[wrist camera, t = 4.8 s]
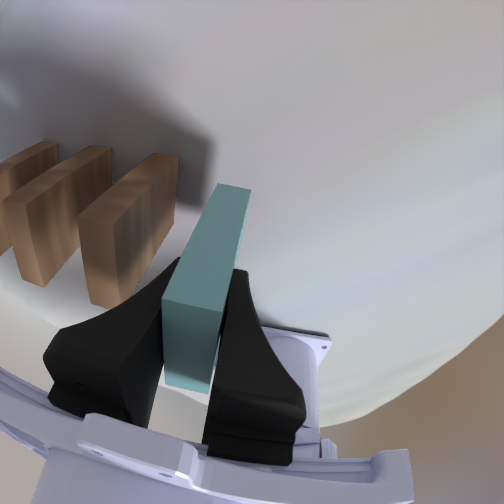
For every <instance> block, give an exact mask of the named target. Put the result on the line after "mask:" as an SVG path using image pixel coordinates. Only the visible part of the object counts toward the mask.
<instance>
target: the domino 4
mask: <svg viewBox="0 0 504 504" xmlns="http://www.w3.org/2000/svg"><path fill="white" fill-rule="evenodd" d="M250 193H251V190H249V189H244V188H239V187H234V186H229V185H224V184H217V186H216V188H215V190H214V192H213V194H212V196H211V198H210V199H209V201H208V203H207V205H206V207H205V209H204V211H203V213H202V215H201V217H200V219H199V221H198V223H197V225H196V227H195V229H194V231H193V233H192V235H191V237H190V239H189V241H188V243H187V245H186V248H185V250H184V252H183V254H182V256H181V258H180V260H179V262H178V264H177V266H176V269H175V271H174V273H173V275H172V277H171V279H170V281H169V284H168V286H167V288H166V290H165V292H164V295H163V297H162V332H163V355H164V372H165V384H167V385H171V386H175V387H179V388H183V389H187V390H191V391H196V392H200V393H205V394H208V393H209V388H210V383H211V378H212V374H213V369H214V364H215V359H216V355H217V350H218V345H219V341H220V333H221V328H222V323H223V317H224V312H225V306H226V301H227V295H228V290H229V285H230V281H231V277H232V273H233V269H235V268H236V263H237V258H238V253H239V248H240V243H241V238H242V233H243V228H244V223H245V218H246V213H247V208H248V203H249V198H250Z"/></svg>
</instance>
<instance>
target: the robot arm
mask: <svg viewBox="0 0 504 504" xmlns="http://www.w3.org/2000/svg"><path fill="white" fill-rule="evenodd" d="M180 258H181V257H178V258H176V259H175V260H174V261H173V262H172V263H171V264H170V265H169V266H168V267H167V268H166V269H165V270H164V271H163V272H162V273H161V274H160V275H158V276H157V277H156V278H155V279H154V280H153V281H151V282H150V283H149V284H148V285H146V286H145V287H144V288H143V289H141V290H140V291H139V292H137V293H136V294H135V295H133V296H132V297H130V298H129V299H127V300H126V301H124V302H123V303H121V304H119V305H118V306H116V307H114V308H112V309H110V310H109V311H107V312H105V313H103V314H101V315H98V316H96V317H94V318H92V319H89V320H87V321H84V322H81V323H78V324H75V325H72V326H69V327H66V328H62V329H60V330H59V332H58V333H57V334H56V335H55V336H54V338H53V340H52V341H51V343H50V345H49V346H48V348H47V349H46V351H45V353H44V355H43V361H44V364H45V366H46V368H47V370H48V371H49V373H50V375H51V377H52V379H53V380H54V382H55V383H54V385H53V386H52V388H51V391H50V392H49V393H48V392H46V391H44V390H42V389H40V388H38V387H36V386H34V385H32V384H30V383H28V382H26V381H24V380H22V379H20V378H19V377H17V376H15V375H13V374H11V373H10V372H8V371H6V370H4V369H3V368H1V367H0V430H1V431H2V432H4V433H5V434H7V435H8V436H10V437H11V438H13V439H14V440H16V441H17V442H19V443H20V444H22V445H23V446H25V447H27V448H28V449H30V450H31V451H33V452H35V453H36V454H38V455H40V456H42V457H44V458H45V459H46V461H45V464H44V467H43V469H42V472H41V475H40V478H39V481H38V484H37V487H36V489H35V492H34V495H33V498H32V501H31V504H408V503H411V502H413V501H414V491H413V482H412V473H411V466H410V459H409V452H408V450H407V449H398V450H385V451H381V452H378V453H376V454H375V455H374V456H373V457H372V458H351V459H350V458H349V459H348V458H344V459H343V458H340V459H339V458H337V447H336V444H334V443H333V442H331V440H330V439H323V440H322V442H321V435H320V420H319V393H318V372H317V368H318V366H319V365H320V363H321V361H322V360H323V358H324V356H325V355H326V353H327V351H328V349H329V348H330V346H331V344H332V340H331V339H330V338H328V337H321V336H315V335H309V334H302V333H297V332H291V331H285V330H279V329H274V328H268V327H263V326H261V324H260V322H259V319H258V316H257V314H256V311H255V307H254V304H253V300H252V296H251V292H250V287H249V278H248V272H247V271H244V270H239V269H233V273H232V277H231V281H230V285H229V290H228V295H227V301H226V306H225V312H224V317H223V323H222V328H221V333H220V342H219V352H218V360H217V365H216V370H215V374H214V379H213V383H212V389H211V394H210V400H209V405H208V412H207V416H206V421H205V426H204V433H203V438H202V443H201V444H199V443H195V442H190V441H186V440H182V439H179V438H176V437H173V436H170V435H166V434H163V433H159V432H155V431H152V430H148V429H147V428H148V424H149V419H150V414H151V410H152V406H153V402H154V397H155V393H156V390H157V386H158V382H159V378H160V375H161V371H162V368H163V364H164V355H163V332H162V297H163V295H164V292H165V290H166V288H167V286H168V284H169V281H170V279H171V277H172V275H173V273H174V271H175V269H176V266H177V264H178V262H179V260H180Z"/></svg>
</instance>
